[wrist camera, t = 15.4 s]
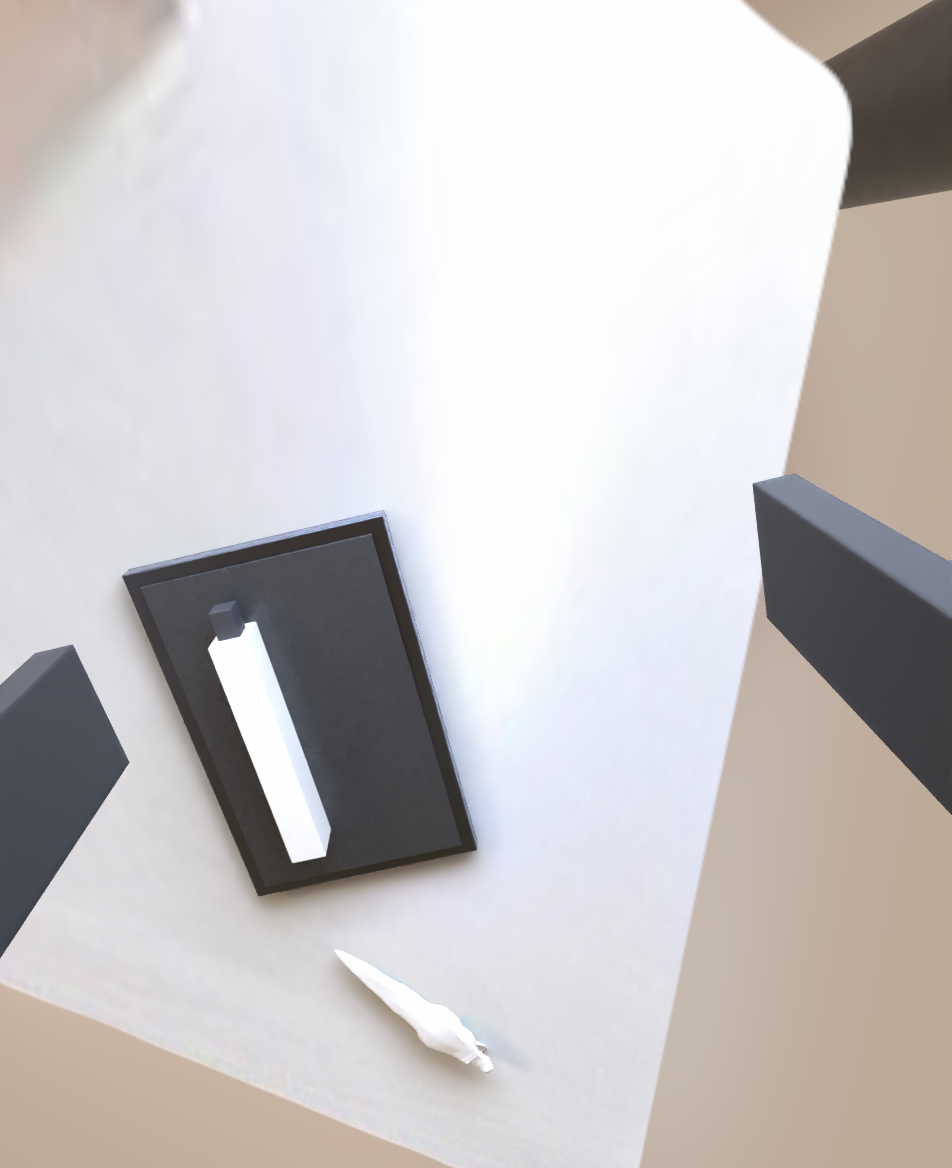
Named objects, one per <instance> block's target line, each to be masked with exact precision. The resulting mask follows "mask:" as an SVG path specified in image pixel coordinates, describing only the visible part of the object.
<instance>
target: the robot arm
mask: <svg viewBox="0 0 952 1168" xmlns="http://www.w3.org/2000/svg"><path fill="white" fill-rule="evenodd" d="M753 493H754V502H755V511H756V520H757V529H758V539H759V548H760V557H761V566H762V575H763V584H764V594H765V602H766V612H767V618H768V619H769V620H770V621H771V622H772V624H774V626H775V627H776V628H777V629H778V630H779V631H780V632H781V633H782V634H783V635H784V636H785V637H786V638H787V639H788V641H789V642H790V643H791V644H792V645H793V646H794V647H795V648H796V649H797V650H798V651H799V652H800V653H801V654H802V656H803V657H804V658H805V659H806V660H807V661H808V662H809V663H810V664H811V665H812V666H813V667H814V668H815V669H816V671H817V672H818V673H819V674H820V675H821V676H822V677H823V678H824V679H825V680H826V681H827V682H828V683H829V684H830V685H831V687H832V688H834V690H835V691H836V692H837V693H838V694H839V695H840V696H841V697H842V698H843V699H844V700H845V701H846V703H847V704H848V705H849V706H850V707H851V708H852V709H853V710H854V711H855V712H856V713H857V714H858V715H859V716H860V718H861V719H862V720H863V721H864V722H865V723H866V724H867V725H868V726H869V727H870V728H871V729H872V730H873V731H874V733H875V734H876V735H877V736H878V737H879V738H880V739H881V740H882V741H883V742H884V743H885V744H886V745H887V746H888V747H889V749H890V750H891V751H892V752H893V753H894V754H895V755H896V756H897V757H898V758H899V759H900V760H901V761H902V762H903V764H904V765H905V766H906V767H907V768H908V769H909V770H910V771H911V772H912V773H913V774H914V775H915V776H916V777H917V778H918V780H919V781H920V782H921V783H922V784H923V785H924V786H925V787H926V788H927V789H928V790H929V791H930V792H931V793H932V794H933V796H934V797H936V799H937V800H938V801H939V802H940V803H941V804H942V805H943V806H944V807H945V808H946V809H947V810H948V812H949V813H950V814H951V815H952V560H951V561H947V560H946V559H944V558H942V557H940V556H939V555H937V554H935V553H933V552H932V551H930V550H928V549H926V548H925V547H923V546H921V545H919V544H918V543H916V542H914V541H912V540H910V539H909V538H907V537H905V536H903V535H902V534H900V533H898V532H896V531H894V530H893V529H891V528H889V527H888V526H886V525H884V524H882V523H881V522H879V521H877V520H875V519H873V518H872V517H870V516H868V515H866V514H865V513H863V512H861V511H859V510H858V509H856V508H854V507H852V506H851V505H849V504H847V503H845V502H843V501H842V500H840V499H838V498H836V497H835V496H833V495H831V494H829V493H828V492H826V491H824V490H822V489H821V488H819V487H817V486H815V485H814V484H812V483H810V482H808V481H806V480H805V479H803V478H801V477H799V476H798V475H796V474H791V475H786V476H782V477H778V478H774V479H770V480H765V481H761V482H757V483H753ZM128 764H129V761H128V759H127V757H126V754H125V752H124V750H123V748H122V746H121V744H120V742H119V740H118V738H117V736H116V734H115V732H114V729H113V727H112V725H111V723H110V721H109V719H108V717H107V715H106V713H105V711H104V709H103V707H102V704H101V702H100V700H99V698H98V696H97V694H96V692H95V690H94V688H93V686H92V684H91V682H90V680H89V677H88V675H87V673H86V671H85V669H84V667H83V665H82V663H81V661H80V659H79V657H78V655H77V652H76V650H75V648H74V646H73V645H69V646H64V647H60V648H56V649H52V650H47V651H43V652H39V653H35V654H34V655H33V656H32V657H31V658H29V659H28V660H27V661H26V662H25V663H24V664H23V665H22V666H21V667H20V668H18V669H17V670H16V671H15V672H14V673H13V674H12V675H11V676H10V677H9V678H7V679H6V680H5V681H4V682H3V683H2V684H1V685H0V958H1V956H2V955H3V953H4V952H5V950H6V949H7V947H8V946H9V944H10V943H11V941H12V940H13V938H14V937H15V935H16V934H17V932H18V931H19V929H20V928H21V926H22V925H23V923H24V922H25V920H26V918H27V917H28V915H29V914H30V912H31V911H32V909H33V908H34V906H35V905H36V903H37V902H38V900H39V899H40V897H41V896H42V894H43V893H44V891H45V890H46V888H47V887H48V885H49V884H50V882H51V881H52V879H53V878H54V876H55V874H56V873H57V871H58V870H59V868H60V867H61V865H62V864H63V862H64V861H65V859H66V858H67V856H68V855H69V853H70V852H71V850H72V849H73V847H74V846H75V844H76V843H77V841H78V840H79V838H80V837H81V835H82V834H83V832H84V831H85V829H86V827H87V826H88V824H89V823H90V821H91V820H92V818H93V817H94V815H95V814H96V812H97V811H98V809H99V808H100V806H101V805H102V803H103V802H104V800H105V799H106V797H107V796H108V794H109V793H110V791H111V790H112V788H113V787H114V785H115V783H116V782H117V780H118V779H119V777H120V776H121V774H122V773H123V771H124V770H125V768H126V767H127V765H128Z"/></svg>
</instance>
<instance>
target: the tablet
mask: <svg viewBox="0 0 952 1168" xmlns="http://www.w3.org/2000/svg"><path fill="white" fill-rule="evenodd" d="M122 577H123V580H124V582H125V584H126V587H127V589H128V591H129V594H130V596H131V598H132V601H133V603H134V605H135V608H136V610H137V612H138V615H139V617H140V619H141V622H142V624H143V626H144V629H145V631H146V634H147V636H148V638H149V641H150V643H151V645H152V648H153V650H154V652H155V655H156V657H157V659H158V662H159V664H160V666H161V669H162V671H163V673H164V676H165V678H166V680H167V683H168V685H169V688H170V690H171V692H172V695H173V697H174V699H175V702H176V704H177V706H178V709H179V711H180V713H181V716H182V718H183V720H184V723H185V725H186V727H187V730H188V732H189V734H190V737H191V739H192V741H193V744H194V746H195V749H196V751H197V753H198V756H199V758H200V760H201V763H202V765H203V767H204V770H205V772H206V774H207V777H208V779H209V781H210V784H211V786H212V788H213V791H214V793H215V795H216V798H217V800H218V803H219V805H220V807H221V810H222V812H223V814H224V817H225V819H226V821H227V824H228V826H229V828H230V831H231V833H232V835H233V838H234V840H235V842H236V845H237V847H238V849H239V852H240V854H241V857H242V859H243V861H244V864H245V866H246V868H247V871H248V873H249V875H250V878H251V880H252V882H253V885H254V887H255V889H256V892H257V894H258V896H264V895H268V894H273V893H278V892H282V891H287V890H292V889H297V888H301V887H306V886H311V885H315V884H320V883H325V882H329V881H334V880H339V879H344V878H348V877H353V876H358V875H362V874H367V873H372V872H376V871H381V870H386V869H391V868H395V867H400V866H405V865H409V864H414V863H419V862H424V861H428V860H433V859H438V858H442V857H447V856H452V855H456V854H461V853H466V852H471V851H475V850H477V839H476V836H475V832H474V829H473V825H472V822H471V818H470V814H469V811H468V807H467V804H466V800H465V797H464V793H463V790H462V786H461V783H460V779H459V775H458V772H457V768H456V765H455V761H454V758H453V754H452V751H451V747H450V744H449V740H448V736H447V733H446V729H445V726H444V722H443V719H442V715H441V712H440V708H439V704H438V701H437V697H436V694H435V690H434V687H433V683H432V680H431V676H430V673H429V669H428V665H427V662H426V658H425V655H424V651H423V648H422V644H421V641H420V637H419V634H418V630H417V626H416V623H415V619H414V616H413V612H412V609H411V605H410V602H409V598H408V595H407V591H406V587H405V584H404V580H403V577H402V573H401V570H400V566H399V563H398V559H397V555H396V552H395V548H394V545H393V541H392V538H391V534H390V531H389V527H388V524H387V520H386V516H385V513H384V511H378V512H374V513H370V514H365V515H361V516H357V517H353V518H348V519H344V520H340V521H335V522H331V523H327V524H322V525H318V526H314V527H310V528H305V529H301V530H297V531H292V532H288V533H284V534H280V535H275V536H271V537H267V538H262V539H258V540H254V541H249V542H245V543H241V544H237V545H232V546H228V547H224V548H219V549H215V550H211V551H207V552H202V553H198V554H194V555H189V556H185V557H181V558H176V559H172V560H168V561H164V562H159V563H155V564H151V565H146V566H142V567H138V568H133V569H129V570H128V571H127V572H126V573H125V574H124V575H123V576H122ZM231 601H236V602H237V605H238V608H239V610H240V613H241V616H242V618H243V621H244V624H247V623H251V622H256V623H257V626H258V629H259V631H260V634H261V637H262V640H263V642H264V645H265V648H266V651H267V654H268V656H269V659H270V662H271V665H272V667H273V670H274V673H275V676H276V678H277V681H278V684H279V687H280V689H281V692H282V695H283V698H284V700H285V703H286V706H287V709H288V711H289V714H290V717H291V720H292V722H293V725H294V728H295V731H296V734H297V736H298V739H299V742H300V745H301V747H302V750H303V753H304V756H305V758H306V761H307V764H308V767H309V769H310V772H311V775H312V778H313V780H314V783H315V786H316V789H317V791H318V794H319V797H320V800H321V803H322V805H323V808H324V811H325V814H326V816H327V819H328V822H329V825H330V827H331V832H330V837H329V842H328V847H327V852H326V856H324V857H320V858H315V859H310V860H306V861H301V862H296V863H292V861H291V859H290V856H289V854H288V851H287V849H286V846H285V844H284V841H283V838H282V836H281V833H280V831H279V828H278V826H277V823H276V821H275V818H274V816H273V813H272V811H271V808H270V805H269V803H268V800H267V798H266V795H265V793H264V790H263V788H262V785H261V783H260V780H259V777H258V775H257V772H256V770H255V767H254V765H253V762H252V760H251V757H250V755H249V752H248V750H247V747H246V744H245V742H244V739H243V737H242V734H241V732H240V729H239V727H238V724H237V722H236V719H235V716H234V714H233V711H232V709H231V706H230V704H229V701H228V699H227V696H226V694H225V691H224V689H223V686H222V683H221V681H220V678H219V676H218V673H217V671H216V668H215V666H214V663H213V661H212V658H211V655H210V653H209V650H208V648H209V647H210V645H211V644H212V642H213V640H214V639H215V637H216V634H215V631H214V628H213V626H212V623H211V621H210V618H209V616H208V614H209V612H210V611H211V609H212V608H213V607H214V605H218V604H222V603H227V602H231Z"/></svg>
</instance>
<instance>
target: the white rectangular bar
mask: <svg viewBox="0 0 952 1168" xmlns="http://www.w3.org/2000/svg"><path fill="white" fill-rule="evenodd" d="M208 616H209V618H210V621H211V623H212V626H213V628H214V631H215V634H216V637H215V639H214V640H213V642H212V644H211V645H210V647H209V648H208V650H209V653H210V655H211V658H212V661H213V663H214V666H215V668H216V671H217V673H218V676H219V678H220V681H221V683H222V686H223V689H224V691H225V694H226V696H227V699H228V701H229V704H230V706H231V709H232V711H233V714H234V716H235V719H236V722H237V724H238V727H239V729H240V732H241V734H242V737H243V739H244V742H245V744H246V747H247V750H248V752H249V755H250V757H251V760H252V762H253V765H254V767H255V770H256V772H257V775H258V777H259V780H260V783H261V785H262V788H263V790H264V793H265V795H266V798H267V800H268V803H269V805H270V808H271V811H272V813H273V816H274V818H275V821H276V823H277V826H278V828H279V831H280V833H281V836H282V838H283V841H284V844H285V846H286V849H287V851H288V854H289V856H290V859H291V861H292V863H296V862H301V861H306V860H310V859H315V858H320V857H324V856H326V852H327V847H328V842H329V837H330V832H331V827H330V825H329V822H328V819H327V816H326V814H325V811H324V808H323V805H322V803H321V800H320V797H319V794H318V791H317V789H316V786H315V783H314V780H313V778H312V775H311V772H310V769H309V767H308V764H307V761H306V758H305V756H304V753H303V750H302V747H301V745H300V742H299V739H298V736H297V734H296V731H295V728H294V725H293V722H292V720H291V717H290V714H289V711H288V709H287V706H286V703H285V700H284V698H283V695H282V692H281V689H280V687H279V684H278V681H277V678H276V676H275V673H274V670H273V667H272V665H271V662H270V659H269V656H268V654H267V651H266V648H265V645H264V642H263V640H262V637H261V634H260V631H259V629H258V626H257V623H256V622H251V623H247V624H244V621H243V618H242V616H241V613H240V610H239V608H238V605H237V602H236V601H231V602H227V603H222V604H218V605H214V607H213V608H212V609H211V611H210V612H209V614H208Z"/></svg>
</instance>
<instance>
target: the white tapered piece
mask: <svg viewBox="0 0 952 1168" xmlns="http://www.w3.org/2000/svg"><path fill="white" fill-rule="evenodd" d="M334 952H335V954H336V955H337V956H338V957H339V958H340V960H341V961H342V962H343V963H344V964H345V965H346V966H347V967H348V968H349V969H350V970H351V971H352V972H353V973H354V974H355V975H356V976H357V977H359V978H360V979H361V980H362V981H363V982H364V983H365V984H366V985H367V986H368V987H369V988H370V989H371V990H372V991H374V992H375V993H376V994H377V995H378V996H379V997H380V998H381V999H382V1000H383V1001H384V1002H385V1003H386V1004H387V1005H388V1006H389V1007H390V1008H391V1009H392V1010H393V1011H394V1012H396V1013H397V1014H398V1015H399V1016H401V1017H402V1018H403V1019H404V1020H405V1021H407V1022H408V1023H409V1024H410V1025H411V1026H412V1027H413V1028H414V1029H416V1032H417V1035H418V1037H419V1039H420V1040H421V1041H422V1042H423V1043H424V1044H425V1045H426V1046H427V1047H429V1048H431V1049H433V1050H437V1051H441V1052H444V1053H448V1054H450V1055H451V1056H453V1057H454V1058H456V1059H459V1060H461V1061H463V1062H465V1063H467V1064H468V1063H471V1064H474V1065H476V1066H477V1067H478V1068H479V1069H480V1070H482V1071H484V1072H485V1073H489V1072H490V1071H491V1070H492V1068H493V1063H492V1062H491V1061H490V1058H489V1057H487V1056H485V1055H484V1054H483V1053H482V1052H483V1051H485V1050H486V1049H487V1048H486V1046H485V1044H482V1043H480V1042H478V1041H477V1040H476V1039H475V1038H474V1035H473V1033H472V1032H471V1031H469V1030H468V1029H466V1028H465V1027H464V1026H463V1025H462V1024H461V1020H460V1019H459V1018H458V1017H457V1016H456V1015H455V1014H453V1013H452V1012H451V1011H450V1010H449V1009H448V1008H446V1007H444V1006H441V1005H436V1004H430V1003H428V1002H427V1001H426V1000H424V999H423V998H422V997H421V996H420V995H418V994H417V993H416V992H414V991H413V990H411V989H410V988H409V987H407V986H405V985H403V984H401V983H400V982H398V981H396V980H394V979H392V978H390V977H388V976H386V975H384V974H383V973H381V972H380V971H379V970H377V969H376V968H374V967H372V966H371V965H369V964H367V963H365V962H364V961H362V960H360V959H357V958H355V957H353V956H351V955H349V954H347V953H345V952H342V951H339V950H335V951H334Z"/></svg>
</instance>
